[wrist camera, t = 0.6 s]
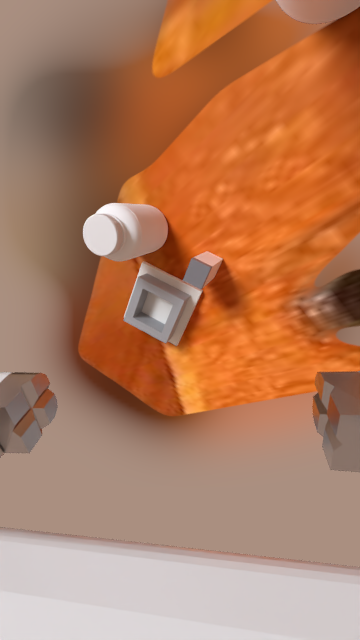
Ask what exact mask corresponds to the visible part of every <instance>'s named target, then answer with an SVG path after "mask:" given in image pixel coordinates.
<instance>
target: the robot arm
mask: <svg viewBox="0 0 360 640" xmlns="http://www.w3.org/2000/svg"><path fill="white" fill-rule="evenodd" d="M276 2H277V3H278V5H279V6H280V7H281V9H282V10H283V11H284V12H285V13H286V14H287V15H288V16H290V17H291V18H293V19H295V20H297V21H300V22H303V23H308V24H321V23H327V22H331V21H334V20H337V19H339V18H341V17H344V16H346V15H347V14H349V13H351V12H352V11H354V10H355V9H357V8H358V7H360V0H276ZM49 384H50V382H49V380H48V378H47V376H46V375H45V374H42V373H23V372H15V373H12V372H10V373H9V372H1V373H0V457H1V456H2V455H4V453H30V451H31V450H32V448H33V447H34V446H35V444H36V443H37V442H38V440H39V439H40V437H41V436H42V428H44V427H46V426H47V425H49V424H50V423H51V421H52V420H53V418H54V417H55V414H56V411H57V399H56V396H55V394H54V393H53V392H52V391H51V390H49V389H48V387H49ZM315 386H316V388H317V391H318V393H317V394H316V395H315V396H314V397H313V406H312V407H313V418H314V423H315V426H316V429H317V432H318V433H319V434H320V435H322V436H323V444H322V447H323V450H324V453H325V456H326V459H327V461H328V465H329V467H330V469H331V470H338V471H351V472H360V371H358V372H317V375H316V378H315ZM0 640H360V567H356V566H347V565H338V564H328V563H320V562H310V561H302V560H292V559H284V558H275V557H266V556H257V555H248V554H239V553H229V552H221V551H212V550H203V549H194V548H185V547H175V546H168V545H158V544H150V543H141V542H140V543H139V542H132V541H122V540H114V539H104V538H96V537H87V536H77V535H67V534H59V533H50V532H40V531H32V530H23V529H14V528H5V527H0Z"/></svg>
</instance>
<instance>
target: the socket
mask: <svg viewBox="0 0 360 640" xmlns="http://www.w3.org/2000/svg"><path fill="white" fill-rule="evenodd" d="M202 291H203V290H201V289H199V288H197V287H195V286H193V285H191V284H189V283H187V282H185V281H183V280H181V279H179V278H177V277H175V276H173V275H171V274H169V273H167V272H165V271H163V270H161V269H159V268H157V267H155V266H153V265H151V264H149V263H147V262H145V261H144V262H142V264H141V267H140V270H139V273H138V276H137V279H136V282H135V285H134V288H133V291H132V294H131V297H130V300H129V303H128V306H127V309H126V312H125V315H124V321H125V322H127V323H129V324H131V325H133V326H135V327H136V328H138V329H140V330H142V331H144V332H146V333H147V334H149V335H151V336H153V337H155V338H157V339H158V340H160V341H162V342H164V343H167V342H170V343H172V344H174V345H175V346H177V345H178V344H179V342H180V340H181V337H182V335H183V333H184V331H185V329H186V326H187V324H188V322H189V320H190V318H191V315H192V313H193V311H194V309H195V307H196V305H197V302H198V300H199V298H200V296H201V294H202Z"/></svg>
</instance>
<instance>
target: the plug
mask: <svg viewBox="0 0 360 640" xmlns="http://www.w3.org/2000/svg"><path fill="white" fill-rule="evenodd" d="M222 260H223V259H222V258H220V257H218V256H216V255H214V254H212V253H210V252H208V251H207V252H204V253H202V254H200V255H198V256H196V257H194V258H192V259H191V261H190V264H189V266H188V269H187V271H186V274H185V276H184V278H183V281H185V282H187V283H189V284H191V285H193V286H195V287H197V288H199V289H202V288H203V287H204V286H206V285H207V284H208V283H209V282H210V281H211V280H212V279H213V278H215V275H216V273H217V271H218V269H219V267H220V265H221V262H222Z"/></svg>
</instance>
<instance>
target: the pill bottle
mask: <svg viewBox="0 0 360 640" xmlns="http://www.w3.org/2000/svg"><path fill="white" fill-rule="evenodd" d="M167 235H168V224H167V221H166V219H165V217H164V215H163V214H162V212H161V211H160V210H158V209H157V208H155V207H153V206H150V205H142V204H123V203H111V204H107V205H105V206H103V207H102V208H100V209H99V210H98V211H97V212H96V214H95V215H92V216H90V217H89V218H88V219H87V220H86V222H85V224H84V227H83V237H84V241H85V243H86V245H87V247H88V248H89V249H90V250H91V251H92V252H93V253H95V254H96V255H99V256H105V257H106V258H108V259H110V260H114V261H126V260H129V259H132V258H136V257H139V256H142V255H145V254H148V253H152V252H154V251H156V250H158V249H159V248H161V247H162V246H163V244H164V243H165V241H166V239H167Z"/></svg>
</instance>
